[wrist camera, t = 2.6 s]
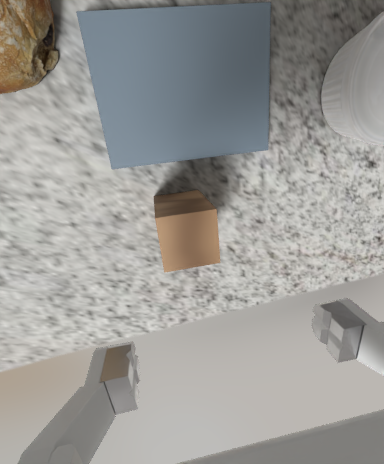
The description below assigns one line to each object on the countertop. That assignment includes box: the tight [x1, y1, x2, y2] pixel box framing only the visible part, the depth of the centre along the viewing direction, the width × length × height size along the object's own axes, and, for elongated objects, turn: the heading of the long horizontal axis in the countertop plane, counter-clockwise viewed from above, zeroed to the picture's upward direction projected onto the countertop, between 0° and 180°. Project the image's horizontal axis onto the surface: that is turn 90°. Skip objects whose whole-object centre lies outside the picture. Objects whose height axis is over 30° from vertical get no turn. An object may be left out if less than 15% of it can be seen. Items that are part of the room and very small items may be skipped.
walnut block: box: [154, 190, 220, 272], centre depth 23 cm, size 5×5×8 cm
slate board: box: [77, 2, 271, 169], centre depth 22 cm, size 16×12×2 cm
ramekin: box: [321, 11, 384, 145], centre depth 23 cm, size 11×11×5 cm
